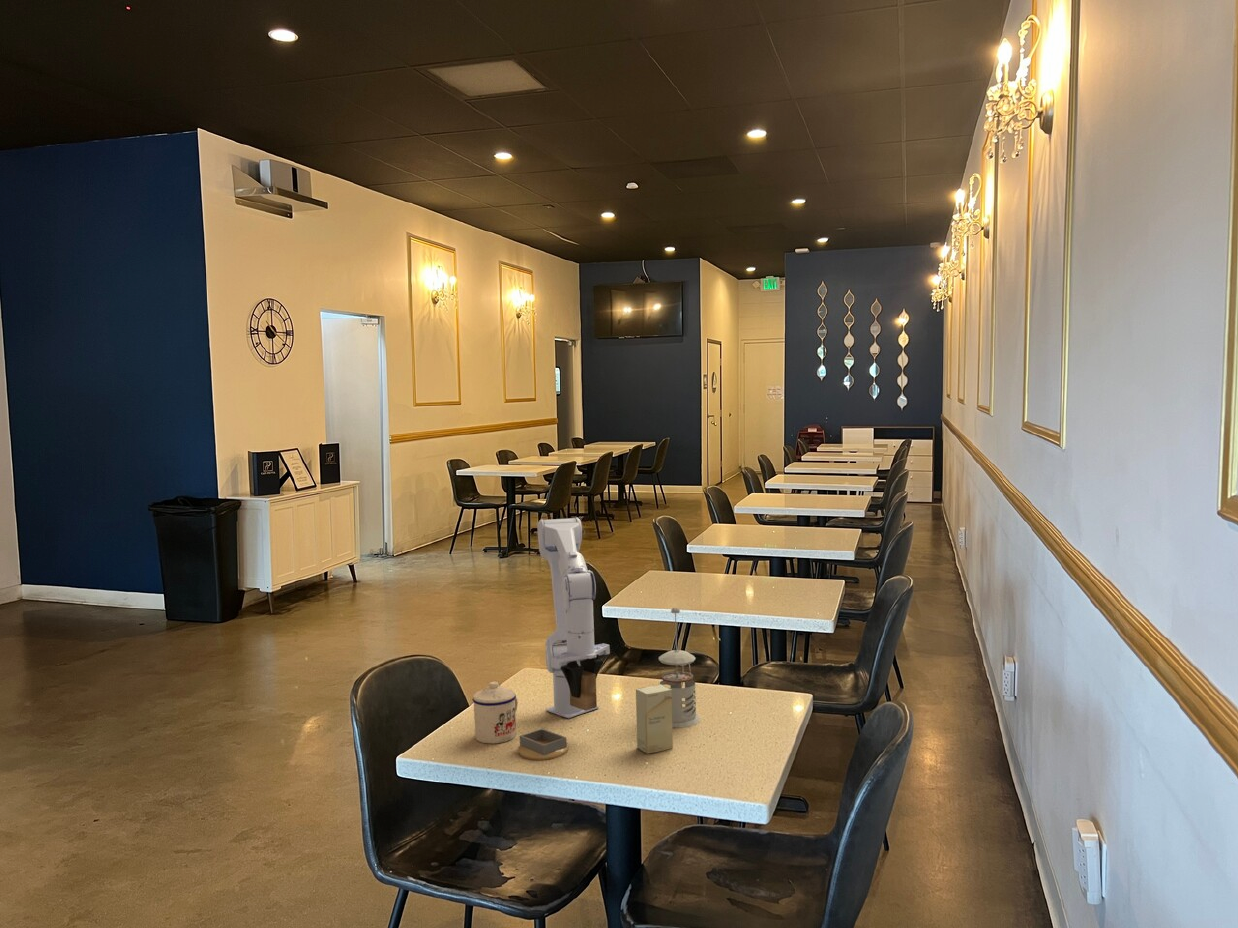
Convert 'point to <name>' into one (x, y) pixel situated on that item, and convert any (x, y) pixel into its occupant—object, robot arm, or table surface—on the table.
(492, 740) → the teacup with lid
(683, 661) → the french press
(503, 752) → the table surface
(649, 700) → the skincare box
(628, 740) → the table surface
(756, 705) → the table surface
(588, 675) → the brown wooden block
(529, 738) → the grey open box
